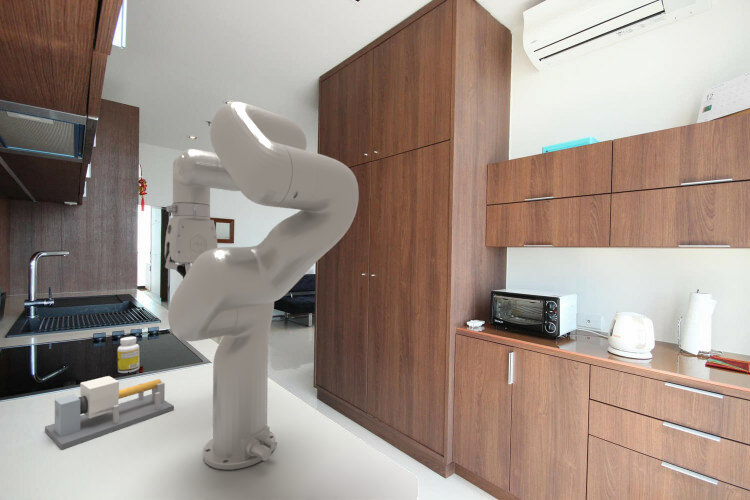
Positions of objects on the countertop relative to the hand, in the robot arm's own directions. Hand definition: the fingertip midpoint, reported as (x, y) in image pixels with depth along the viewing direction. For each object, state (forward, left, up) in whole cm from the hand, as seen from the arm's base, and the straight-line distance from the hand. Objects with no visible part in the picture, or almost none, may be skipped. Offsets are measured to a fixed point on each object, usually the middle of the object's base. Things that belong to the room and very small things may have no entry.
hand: (191, 293), depth 80 cm
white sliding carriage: (+10, +14, -24) cm, 30 cm away
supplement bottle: (+42, -3, -27) cm, 50 cm away
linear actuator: (+10, +12, -27) cm, 31 cm away
